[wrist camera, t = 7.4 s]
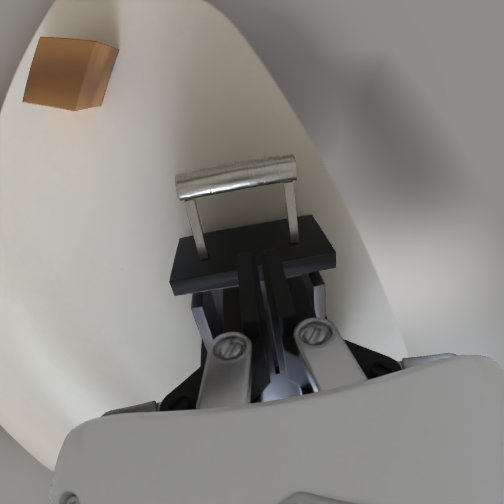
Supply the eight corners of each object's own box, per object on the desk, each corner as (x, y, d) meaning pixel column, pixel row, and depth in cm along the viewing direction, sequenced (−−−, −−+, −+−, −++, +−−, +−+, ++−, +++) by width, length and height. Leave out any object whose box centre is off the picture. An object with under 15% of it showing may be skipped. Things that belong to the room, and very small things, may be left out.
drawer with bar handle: (160, 166, 20) (140, 193, 15) (305, 140, 20) (332, 158, 15) (215, 347, 30) (215, 393, 25) (317, 328, 30) (332, 373, 25)
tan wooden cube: (69, 42, 15) (39, 36, 11) (119, 49, 16) (96, 41, 12) (53, 97, 17) (22, 102, 13) (101, 106, 18) (74, 111, 14)
